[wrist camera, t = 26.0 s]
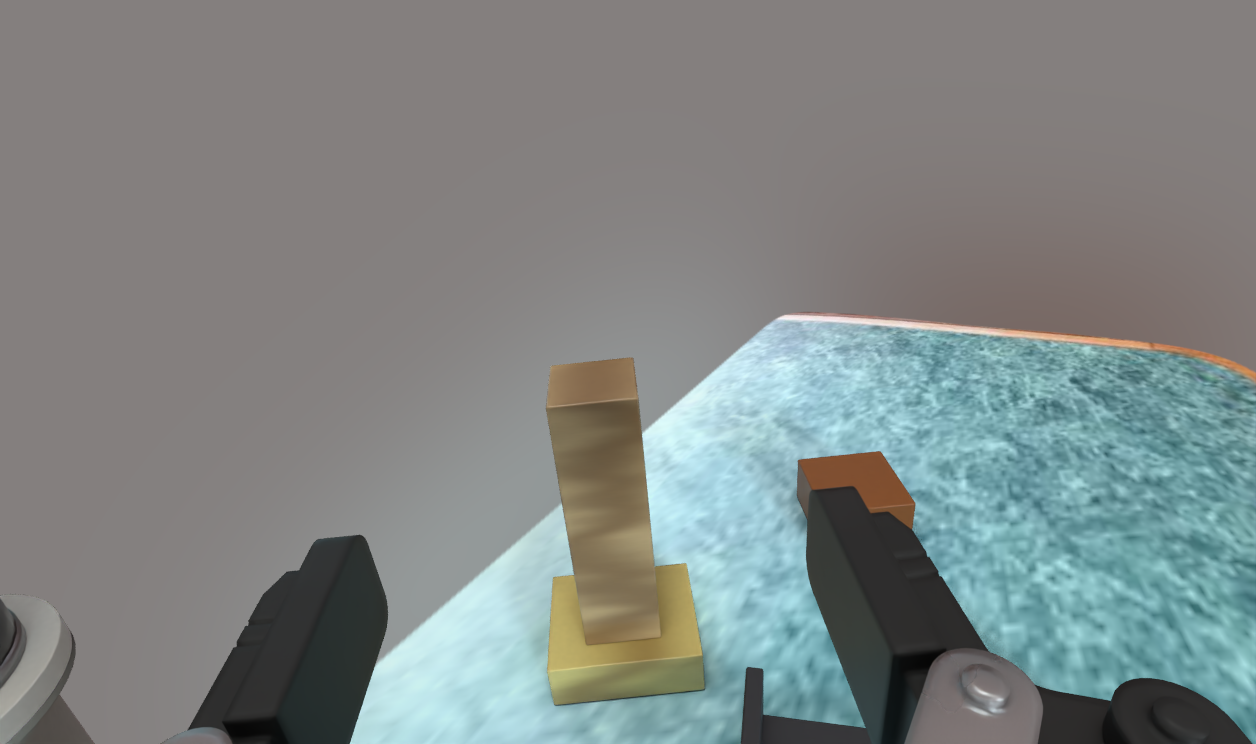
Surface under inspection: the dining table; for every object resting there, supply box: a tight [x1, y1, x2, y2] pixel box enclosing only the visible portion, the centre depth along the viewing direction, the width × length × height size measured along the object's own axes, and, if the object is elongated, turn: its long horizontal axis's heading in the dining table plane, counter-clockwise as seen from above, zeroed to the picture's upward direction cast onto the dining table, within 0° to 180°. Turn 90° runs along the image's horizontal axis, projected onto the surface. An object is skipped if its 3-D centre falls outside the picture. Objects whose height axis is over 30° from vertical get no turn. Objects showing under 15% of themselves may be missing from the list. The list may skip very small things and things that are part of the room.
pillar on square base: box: [546, 358, 705, 705], centre depth 26 cm, size 6×5×13 cm
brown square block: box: [797, 451, 915, 529], centre depth 35 cm, size 4×4×2 cm
